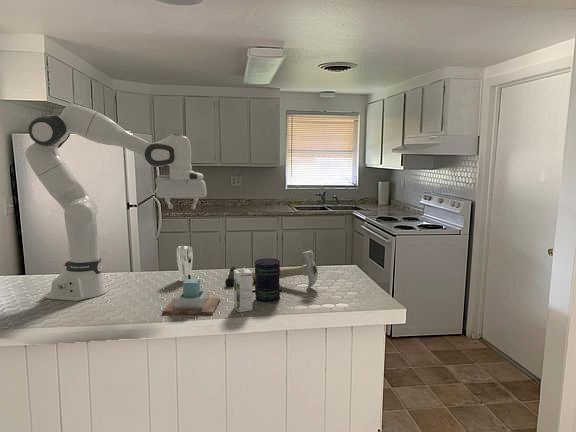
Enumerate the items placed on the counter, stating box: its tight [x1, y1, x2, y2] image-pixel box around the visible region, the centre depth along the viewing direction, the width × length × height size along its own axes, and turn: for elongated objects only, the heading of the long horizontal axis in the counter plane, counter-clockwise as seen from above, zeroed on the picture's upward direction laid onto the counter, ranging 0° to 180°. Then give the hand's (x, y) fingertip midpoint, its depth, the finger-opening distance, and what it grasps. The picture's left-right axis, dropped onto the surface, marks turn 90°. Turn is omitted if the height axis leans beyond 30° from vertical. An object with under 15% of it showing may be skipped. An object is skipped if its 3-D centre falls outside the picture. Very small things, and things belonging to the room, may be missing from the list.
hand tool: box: [224, 266, 237, 288], centre depth 197 cm, size 19×4×5 cm, turn 179°
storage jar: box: [254, 258, 281, 304], centre depth 171 cm, size 10×10×15 cm
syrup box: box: [233, 268, 253, 313], centre depth 160 cm, size 6×6×14 cm
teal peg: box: [182, 278, 201, 297], centre depth 162 cm, size 5×5×9 cm
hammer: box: [251, 250, 319, 291], centre depth 188 cm, size 16×5×30 cm
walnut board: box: [161, 297, 221, 315], centre depth 163 cm, size 18×14×1 cm
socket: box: [174, 289, 210, 310], centre depth 162 cm, size 10×10×4 cm
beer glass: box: [176, 245, 194, 283], centre depth 197 cm, size 7×7×15 cm
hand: (182, 208), depth 181 cm, fingers open, 8 cm apart
